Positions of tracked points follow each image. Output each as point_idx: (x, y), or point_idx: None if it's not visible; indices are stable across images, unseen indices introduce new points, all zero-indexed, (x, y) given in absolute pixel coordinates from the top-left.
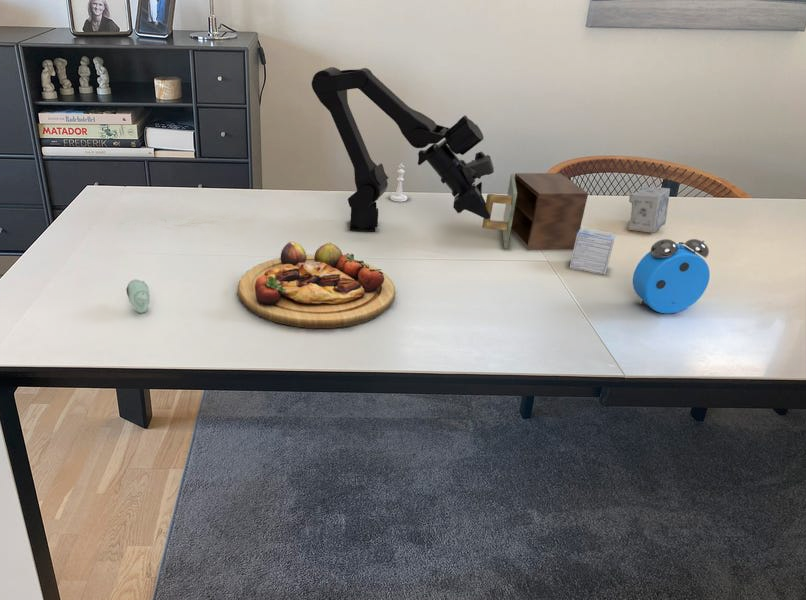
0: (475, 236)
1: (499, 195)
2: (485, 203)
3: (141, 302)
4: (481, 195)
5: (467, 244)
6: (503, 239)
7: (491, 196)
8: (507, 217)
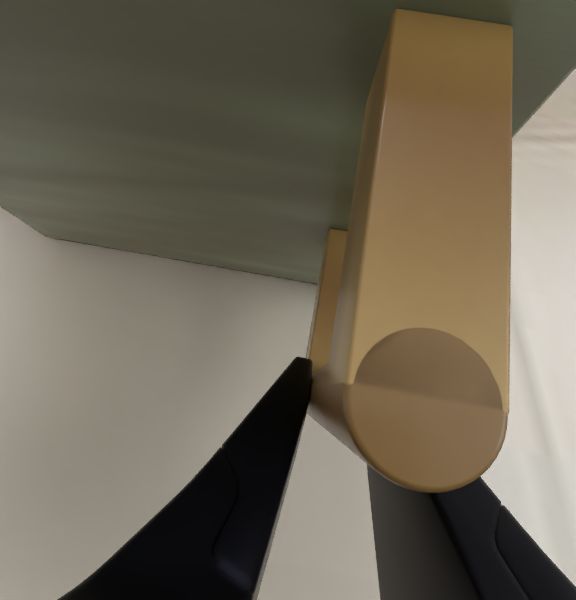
0: (193, 415)
1: (433, 211)
2: (281, 435)
3: None
4: (233, 569)
5: (322, 490)
6: (255, 272)
7: (498, 395)
8: (255, 210)
